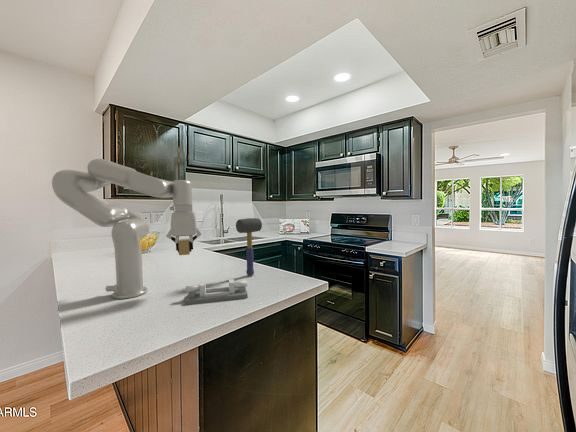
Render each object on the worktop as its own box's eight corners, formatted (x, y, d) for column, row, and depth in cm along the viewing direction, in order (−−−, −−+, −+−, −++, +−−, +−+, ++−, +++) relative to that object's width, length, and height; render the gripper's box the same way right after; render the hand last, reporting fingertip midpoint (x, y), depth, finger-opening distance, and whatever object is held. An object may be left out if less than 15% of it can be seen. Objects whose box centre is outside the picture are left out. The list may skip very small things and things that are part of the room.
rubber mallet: (243, 279, 126) (242, 219, 125) (236, 276, 132) (234, 218, 131) (264, 274, 134) (262, 217, 133) (256, 272, 140) (254, 217, 139)
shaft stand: (184, 304, 95) (184, 289, 95) (188, 295, 105) (187, 281, 105) (248, 297, 101) (248, 283, 101) (246, 289, 111) (245, 276, 111)
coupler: (189, 254, 107) (188, 240, 107) (179, 255, 105) (178, 240, 105) (190, 252, 114) (189, 238, 114) (180, 252, 113) (180, 239, 113)
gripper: (160, 210, 103) (162, 255, 104) (203, 208, 108) (205, 251, 109) (162, 209, 110) (164, 251, 111) (203, 208, 115) (205, 248, 116)
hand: (184, 251), depth 110 cm, fingers closed on coupler, 4 cm apart
